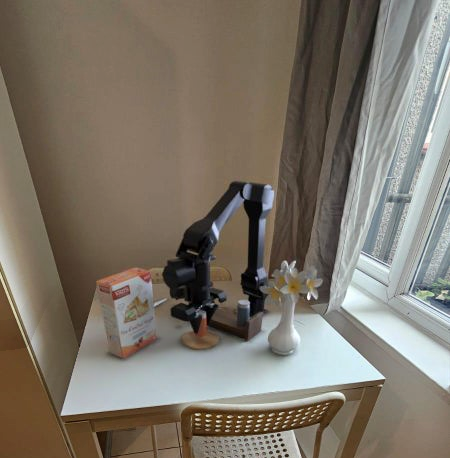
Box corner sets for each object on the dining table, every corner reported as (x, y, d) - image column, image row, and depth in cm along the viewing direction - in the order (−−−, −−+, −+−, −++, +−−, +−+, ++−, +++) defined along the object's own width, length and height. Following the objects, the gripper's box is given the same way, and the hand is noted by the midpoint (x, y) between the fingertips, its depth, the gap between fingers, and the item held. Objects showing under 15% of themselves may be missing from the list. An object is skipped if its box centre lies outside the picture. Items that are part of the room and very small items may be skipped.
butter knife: (110, 324, 107) (117, 326, 105) (163, 297, 126) (169, 299, 124) (110, 326, 107) (117, 328, 106) (163, 299, 126) (169, 300, 125)
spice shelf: (203, 311, 118) (203, 294, 114) (261, 331, 107) (263, 312, 103) (188, 319, 112) (188, 301, 109) (247, 341, 102) (249, 321, 98)
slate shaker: (240, 319, 107) (242, 298, 103) (250, 322, 105) (252, 301, 101) (234, 323, 105) (235, 302, 100) (244, 327, 103) (245, 305, 99)
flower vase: (247, 358, 94) (255, 269, 79) (276, 332, 107) (287, 251, 92) (290, 373, 89) (306, 281, 74) (314, 344, 102) (333, 260, 86)
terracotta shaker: (199, 329, 103) (198, 308, 98) (209, 333, 101) (209, 312, 97) (191, 334, 100) (190, 313, 96) (201, 338, 98) (201, 316, 94)
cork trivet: (197, 328, 108) (197, 326, 107) (225, 338, 103) (225, 337, 102) (174, 341, 100) (174, 340, 100) (203, 353, 96) (203, 352, 95)
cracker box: (124, 360, 92) (111, 285, 79) (108, 353, 94) (93, 280, 82) (158, 339, 101) (151, 270, 89) (143, 333, 104) (134, 265, 91)
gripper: (197, 264, 100) (198, 312, 109) (153, 281, 88) (158, 334, 97) (228, 272, 95) (226, 322, 105) (185, 292, 83) (188, 346, 92)
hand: (200, 330), depth 100 cm, fingers closed on terracotta shaker, 4 cm apart
